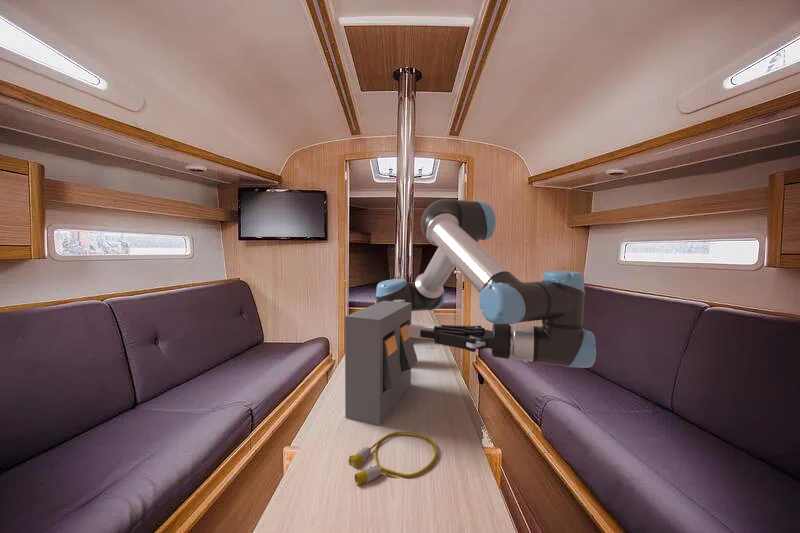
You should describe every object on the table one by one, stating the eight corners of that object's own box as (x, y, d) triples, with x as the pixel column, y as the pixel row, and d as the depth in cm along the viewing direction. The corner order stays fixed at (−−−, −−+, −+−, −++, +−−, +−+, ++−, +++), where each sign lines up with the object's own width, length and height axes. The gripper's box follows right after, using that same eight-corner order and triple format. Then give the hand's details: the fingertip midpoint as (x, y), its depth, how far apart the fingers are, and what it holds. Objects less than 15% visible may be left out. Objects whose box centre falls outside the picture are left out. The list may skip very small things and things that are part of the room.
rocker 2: (410, 362, 79) (399, 324, 80) (418, 360, 78) (407, 322, 79) (402, 371, 74) (390, 330, 74) (411, 369, 73) (399, 328, 73)
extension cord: (349, 440, 59) (349, 430, 59) (429, 434, 61) (429, 424, 61) (347, 490, 47) (347, 478, 47) (447, 480, 49) (447, 468, 49)
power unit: (383, 379, 85) (383, 300, 83) (410, 384, 82) (411, 302, 80) (345, 417, 66) (345, 316, 64) (379, 425, 63) (379, 319, 62)
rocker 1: (394, 377, 70) (386, 334, 70) (403, 377, 69) (395, 333, 69) (383, 388, 64) (374, 341, 65) (393, 388, 64) (384, 340, 64)
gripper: (510, 369, 61) (399, 354, 70) (511, 349, 74) (417, 338, 82) (511, 332, 61) (399, 321, 69) (512, 318, 73) (417, 310, 81)
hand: (409, 330), depth 75 cm, fingers closed
